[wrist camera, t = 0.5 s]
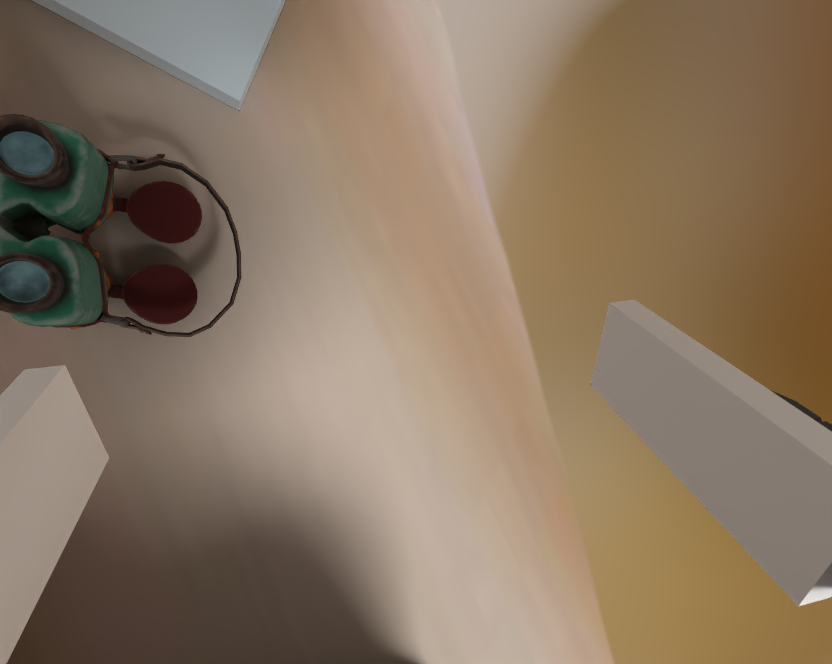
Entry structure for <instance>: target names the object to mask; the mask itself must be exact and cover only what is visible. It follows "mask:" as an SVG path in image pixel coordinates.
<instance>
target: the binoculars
mask: <svg viewBox="0 0 832 664" xmlns="http://www.w3.org/2000/svg"><path fill="white" fill-rule="evenodd" d="M164 157H165V155H164V154H158V155H157V156H155V157H152V158H148V159H145V158H140V157H136V156H123V155H114V156H107V155H106V154H105V153H103V152H102V151H100V150H98V149H96V148H95V147H94V146H93V145H92V144H91V143H90V142H89V141H88V140H87V139H86V138H85V137H84V136H83V135H82V134H80V133H78V132H77V131H74V130H72V129H69V128H67V127H64V126H61V125H58V124H53V123H49V122H45V121H40V120H35V119H33V118H30V117H27V116H23V115H16V114H10V115H3V116H0V310H2V311H5V312H8V313H9V314H10V315H11V316H12V317H13V318H15V319H16V320H18V321H19V322H22V323H25V324H28V325H32V326H41V327H46V326H52V327H70V328H71V329H77V328H78V327H86V326H90V325H94V324H96V323H98V322H105V323H106V322H108V323H113V324H117V325H120V326H121V327H125V328H132V329H138V330H139V331H140V332H141V333H144V332H145V333H146V334H149V335H151V334H152V333H151V332H153V333H157V334H161V335H164V336H177V337H191V336H193V335H195V334H198V333H200V332H202V331H204V330H206V329H209V328H211V327H212V326H213V325H214V324H215V323H216V322H217V321H218V320H219V318H220V317H221V316H222V315H223V314H224V313H225V312H226V311H227V310H228V309H229V308H230V307H231V306H232V305H233V303H234V300H235V297H236V293H237V290H238V287H239V283H240V280H241V252H240V246H239V240H238V235H237V231H236V228H235V225H234V223H233V220H232V217H231V214H230V212H229V209H228V207H227V206H226V204H225V203H224V202H223V200H222V199H221V198H220V196H219V195H218V194H217V193H216V191H215V190H214V189H213V187H212V186H211V185H210V183H209V182H208V181H207V180H205V179H204V178H203V177H201V176H200V175H198V174H197V173H195V172H194V171H192V170H191V169H189V168H188V167H187V166H185V165H184V164H182V163H179V162H175V161H170V160H166V159H163V158H164ZM107 161H108V162H110V164H109V163H108V162H107ZM118 161H127V162H128V165H124V164H118ZM159 165H163V166H167V167H171V168H176V169H180V170H182V171H184V172H185V173H187V174H188V175H190V176H191V177H192V178H194V179H195V180H197V181H198V182H200V183H201V184H203V185H204V186H206V188H207V189H208V190H209V192H210V193H211V194H212V196H213V197H214V198H215V200H216V201H217V202H218V203H219V205H220V206H221V207H222V209H223V210H224V211H225V214H226V217H227V219H228V222H229V225H230V227H231V230H232V233H233V237H234V242H235V248H236V254H237V279H236V283H235V286H234V289H233V293H232V296H231V299H230V302H229V303H228V304H227V305H226V307H225V308H224V309H223V310H222V311H221V312H220V313H219V314H218V315H217V316H216V317H215V318H214V319H213V320H212V321H211V322H210V323H209V324H208V325H206V326H204V327H201V328H199V329H197V330H195V331H193V332H190V333H177V332H165V331H162V330H158V329H155V328H151V327H148V326H144V325H142V324H141V323H139V322H137V321H136V320H134V319H132V318H129V317H125V318H123V317H117V316H112V315H109V314H108V297H111V298H120V299H124V301H125V303H126V304H127V306H128V307H129V308H130V309H131V310H132V311H133V312H134V313H135V314H137V315H138V316H139V317H141V318H143V319H145V320H147V321H150V322H153V323H157V324H171V323H175V322H177V321H180V320H182V319H184V318H185V317H186V316H188V315H189V314H190V313H191V311H192V310H193V309H194V307H195V305H196V302H197V289H196V286H195V283H194V282H193V280H192V278H191V277H190V276H189V275H188V274H187V273H185V272H184V271H183V270H181V269H179V268H177V267H174V266H170V265H153V266H149V267H145V268H142V269H140V270H138V271H137V272H135V273H133V274H132V275H131V276H130V277H128V279H127V280H126V281H125V283H124V285H114V284H113V281H112V279H111V277H110V276H109V274H108V273H107V272H105V271H104V266H103V264H102V262H101V260H100V258H99V253H98V252H97V251H93V249H92V247H91V246H90V244H89V241H88V237H89V234H90V233H91V232H93V231H94V230H96V229H97V228H98V227H99V226H101V224H102V223H103V222H104V220H106V219H107V218H109V217H110V216H112V214H113V213H114V212H115V211H121V212H126V213H127V214H128V216H129V218H130V220H131V221H132V222H133V223H134V225H135V226H136V227H137V228H138V229H140V230H141V231H142V232H143V233H145V234H146V235H148V236H150V237H151V238H153V239H156V240H158V241H161V242H166V243H178V242H183V241H185V240H187V239H189V238H190V237H192V236H193V235H194V234H195V233H196V232H197V231H198V229H199V227H200V225H201V220H202V211H201V208H200V205H199V203H198V201H197V199H196V198H195V197H194V195H193V194H192V193H191V192H190V191H188V190H187V189H186V188H184V187H182V186H180V185H179V184H175V183H172V182H164V181H162V182H154V183H150V184H146V185H144V186H142V187H140V188H138V189H137V190H135V191H134V192H133V193H132V194H131V195H130V197H129V198H128V199H124V198H118V197H115V195H114V193H113V192H112V187H113V182H114V169H115V168H118V169H127V170H134V171H137V170H145V169H148V168H152V167H155V166H159ZM55 224H58V225H60V226H62V227H64V228H66V229H69V230H71V231H73V232H75V233H78V234H82V241H83V243H84V245H83V244H81V243H79V242H76V241H74V240H71V239H67V238H62V237H58V236H54V235H50V231H49V230H48V227H50V226H53V225H55ZM130 323H132V324H134V325H132V324H130Z"/></svg>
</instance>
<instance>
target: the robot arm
mask: <svg viewBox="0 0 832 664" xmlns="http://www.w3.org/2000/svg"><path fill="white" fill-rule="evenodd" d="M590 385H591V386H592V387H593V388H594V389H595V390H596V392H597V393H598V394H599V395H600V396H601V397H602V398H603V399H604V400H605V401H606V402H607V403H608V404H609V405H610V406H611V407H612V409H613V410H614V411H615V412H616V413H617V414H618V415H619V416H620V417H621V418H622V419H623V420H624V421H625V422H626V423H627V425H628V426H629V427H630V428H631V429H632V430H633V431H634V432H635V433H636V434H637V435H638V436H639V437H640V438H641V439H642V441H643V442H644V443H645V444H646V445H647V446H648V447H649V448H650V449H651V450H652V451H653V452H654V453H655V454H656V455H657V456H658V458H659V459H661V461H662V462H663V463H664V464H665V465H666V466H667V467H668V468H669V469H670V470H671V471H672V472H673V473H674V474H675V476H676V477H677V478H678V479H679V480H680V481H681V482H682V483H683V484H684V485H685V486H686V487H687V488H688V489H689V490H690V492H691V493H692V494H693V495H694V496H695V497H696V498H697V499H698V500H699V501H700V502H701V503H702V504H703V505H704V506H705V508H706V509H707V510H708V511H709V512H710V513H711V514H712V515H713V516H714V517H715V518H716V519H717V520H718V521H719V522H720V523H721V524H722V525H723V527H724V528H725V529H726V530H727V531H728V532H729V533H730V534H731V535H732V536H733V537H734V538H735V539H736V540H737V542H739V544H741V546H742V547H743V548H744V549H745V550H746V551H747V552H748V553H749V554H750V555H751V556H752V557H753V558H754V560H756V562H757V563H758V564H759V565H760V566H761V567H762V568H763V569H764V570H765V571H766V572H767V573H768V574H769V576H770V577H771V578H772V579H773V580H774V581H775V582H776V583H777V584H778V585H779V586H780V587H781V588H782V589H783V590H784V592H785V593H786V594H787V595H788V596H789V597H790V598H791V599H792V600H793V601H794V602H795V603H796V604H797V605H798V606H801V605H805V604H808V603H812V602H815V601H819V600H823V599H826V598H829V597H832V425H831V424H829V423H828V422H826V421H825V422H822V421H821V418H820V417H819V416H817V415H816V414H814V413H813V412H811V411H810V410H808V409H807V408H805V407H804V406H802V405H801V404H799V403H798V402H796V401H794V400H792V399H789V398H787V397H785V396H783V395H780V394H778V393H776V392H774V391H771V390H769V389H767V388H766V387H764V386H762V385H761V384H760V383H758V382H756V381H755V380H754V379H752V378H751V377H749V376H748V375H746V374H745V373H743V372H742V371H740V370H739V369H737V368H736V367H734V366H733V365H731V364H730V363H728V362H727V361H725V360H724V359H722V358H721V357H719V356H718V355H716V354H715V353H713V352H712V351H710V350H709V349H707V348H706V347H704V346H702V345H701V344H700V343H698V342H697V341H695V340H694V339H692V338H691V337H689V336H688V335H686V334H685V333H683V332H682V331H680V330H679V329H677V328H676V327H674V326H673V325H671V324H670V323H668V322H667V321H665V320H664V319H662V318H661V317H659V316H658V315H656V314H655V313H653V312H652V311H650V310H649V309H647V308H646V307H644V306H643V305H641V304H640V303H638V302H637V301H635V300H629V301H620V302H612V303H609V307H608V311H607V316H606V320H605V324H604V329H603V333H602V337H601V341H600V346H599V350H598V355H597V359H596V363H595V367H594V371H593V376H592V380H591V384H590ZM108 460H109V456H108V454H107V452H106V450H105V448H104V446H103V444H102V441H101V439H100V437H99V435H98V433H97V431H96V429H95V427H94V425H93V423H92V421H91V418H90V416H89V414H88V412H87V410H86V408H85V406H84V404H83V402H82V400H81V398H80V395H79V393H78V391H77V389H76V387H75V385H74V383H73V381H72V379H71V377H70V375H69V373H68V370H67V368H66V366H65V365H60V366H51V367H42V368H33V369H25V370H23V371H22V373H21V374H20V375H19V376H18V377H17V378H16V379H15V380H14V381H13V382H12V383H11V384H10V385H9V386H8V387H7V388H6V390H5V391H4V392H3V393H2V394H1V395H0V664H7V662H8V660H9V658H10V656H11V654H12V652H13V650H14V648H15V646H16V644H17V642H18V640H19V638H20V636H21V634H22V632H23V630H24V628H25V626H26V624H27V622H28V620H29V618H30V616H31V614H32V612H33V610H34V608H35V606H36V604H37V602H38V600H39V598H40V596H41V594H42V592H43V590H44V588H45V586H46V584H47V582H48V580H49V578H50V576H51V574H52V572H53V570H54V568H55V566H56V564H57V562H58V560H59V558H60V556H61V554H62V552H63V550H64V548H65V546H66V544H67V542H68V540H69V538H70V536H71V534H72V532H73V530H74V528H75V526H76V524H77V522H78V520H79V518H80V516H81V514H82V512H83V510H84V508H85V506H86V504H87V502H88V500H89V498H90V496H91V494H92V492H93V490H94V488H95V486H96V484H97V482H98V480H99V478H100V476H101V474H102V472H103V470H104V468H105V466H106V464H107V462H108Z"/></svg>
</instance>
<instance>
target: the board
mask: <svg viewBox="0 0 832 664" xmlns="http://www.w3.org/2000/svg"><path fill="white" fill-rule="evenodd" d="M32 1H34V2H36V3H38V4H39V5H41V6H43V7H45V8H47V9H49V10H51V11H53V12H54V13H56V14H58V15H60V16H62V17H64V18H66V19H68V20H69V21H71V22H73V23H75V24H77V25H79V26H81V27H83V28H84V29H86V30H88V31H90V32H92V33H94V34H96V35H98V36H99V37H101V38H103V39H105V40H107V41H109V42H111V43H113V44H115V45H116V46H118V47H120V48H122V49H124V50H126V51H128V52H130V53H131V54H133V55H135V56H137V57H139V58H141V59H143V60H145V61H146V62H148V63H150V64H152V65H154V66H156V67H158V68H160V69H161V70H163V71H165V72H167V73H169V74H171V75H173V76H175V77H176V78H178V79H180V80H182V81H184V82H186V83H188V84H190V85H191V86H193V87H195V88H197V89H199V90H201V91H203V92H205V93H207V94H208V95H210V96H212V97H214V98H216V99H218V100H220V101H222V102H223V103H225V104H227V105H229V106H231V107H233V108H235V109H237V110H238V111H240V108H241V106H242V104H243V101H244V99H245V96H246V94H247V92H248V89H249V87H250V84H251V82H252V80H253V77H254V75H255V73H256V70H257V68H258V65H259V63H260V61H261V58H262V56H263V53H264V51H265V49H266V46H267V44H268V42H269V39H270V37H271V34H272V32H273V30H274V27H275V25H276V22H277V20H278V18H279V15H280V13H281V11H282V8H283V6H284V3H285V1H286V0H32Z"/></svg>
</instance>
